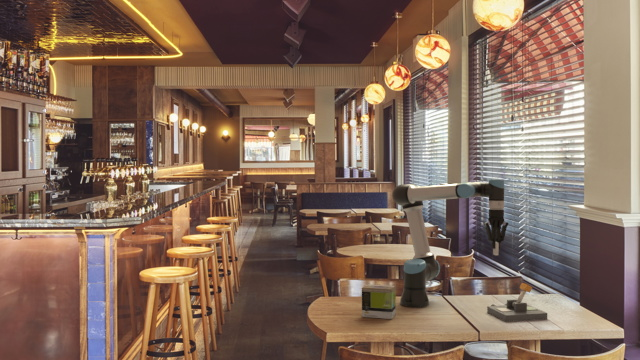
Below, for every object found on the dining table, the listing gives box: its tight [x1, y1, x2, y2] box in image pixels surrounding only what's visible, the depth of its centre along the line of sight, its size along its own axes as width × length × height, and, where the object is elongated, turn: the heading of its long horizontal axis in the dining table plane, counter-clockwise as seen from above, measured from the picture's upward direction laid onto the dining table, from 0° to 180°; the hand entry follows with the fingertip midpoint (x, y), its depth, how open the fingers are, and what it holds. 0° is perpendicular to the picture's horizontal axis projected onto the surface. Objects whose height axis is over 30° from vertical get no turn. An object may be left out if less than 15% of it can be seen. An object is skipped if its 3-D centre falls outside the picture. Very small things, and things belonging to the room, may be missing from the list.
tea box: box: [361, 283, 397, 320], centre depth 288 cm, size 15×10×15 cm, turn 71°
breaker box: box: [486, 298, 548, 323], centre depth 293 cm, size 22×26×7 cm
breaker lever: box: [512, 282, 533, 307], centre depth 290 cm, size 3×5×13 cm, turn 12°
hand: (495, 254), depth 299 cm, fingers closed
